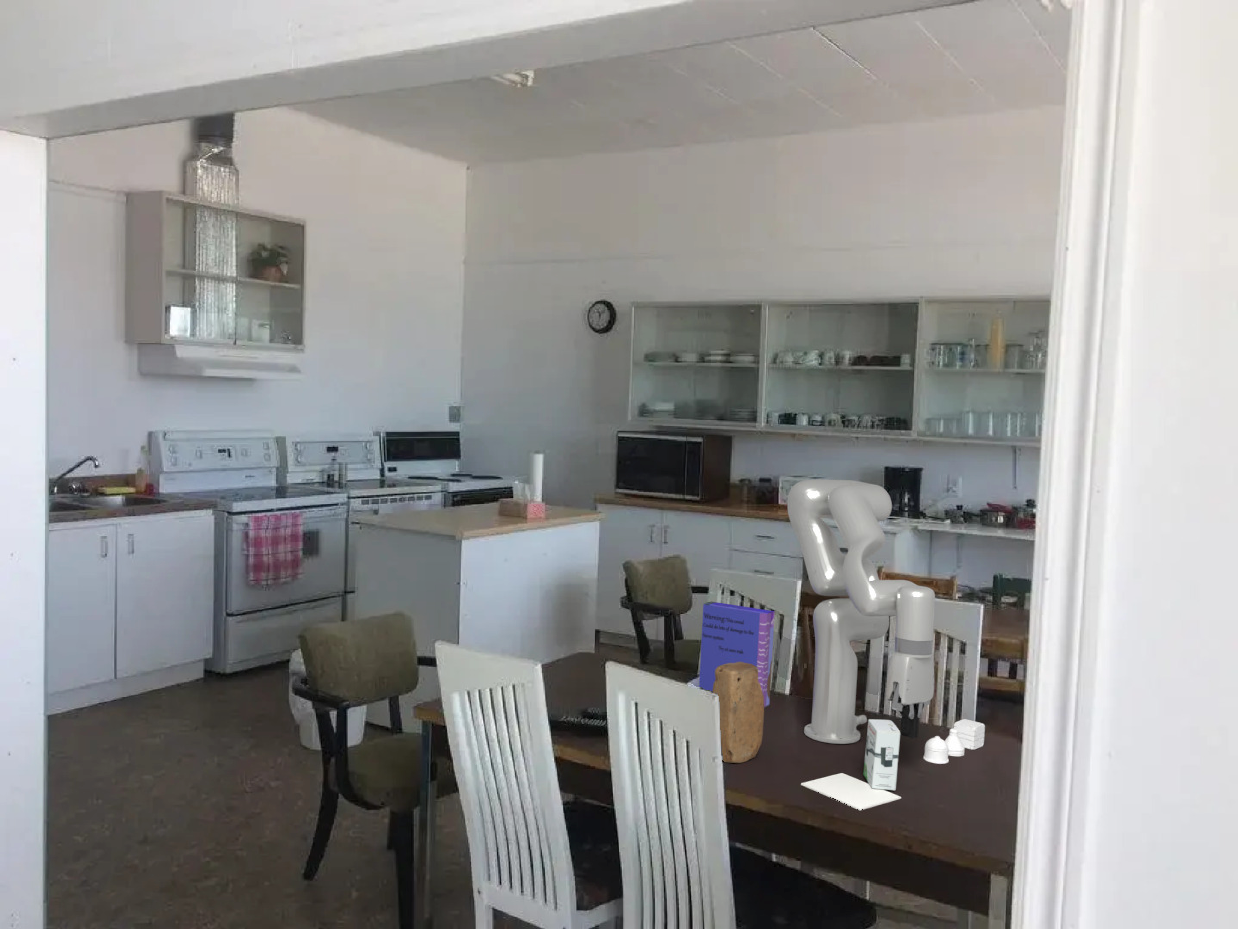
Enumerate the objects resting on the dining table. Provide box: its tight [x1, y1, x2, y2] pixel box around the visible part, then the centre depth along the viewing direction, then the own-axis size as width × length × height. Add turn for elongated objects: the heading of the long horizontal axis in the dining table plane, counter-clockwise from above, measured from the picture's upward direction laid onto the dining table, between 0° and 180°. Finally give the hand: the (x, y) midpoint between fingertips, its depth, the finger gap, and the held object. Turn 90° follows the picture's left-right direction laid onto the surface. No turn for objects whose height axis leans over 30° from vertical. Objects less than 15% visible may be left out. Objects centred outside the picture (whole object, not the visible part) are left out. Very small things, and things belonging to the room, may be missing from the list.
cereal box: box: [698, 601, 775, 709], centre depth 265 cm, size 17×5×24 cm, turn 59°
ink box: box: [862, 718, 901, 791], centre depth 211 cm, size 9×5×12 cm, turn 178°
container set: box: [923, 718, 986, 765], centre depth 233 cm, size 20×5×6 cm, turn 135°
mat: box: [800, 772, 902, 811], centre depth 206 cm, size 12×15×1 cm
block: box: [712, 662, 765, 764], centre depth 222 cm, size 11×8×20 cm
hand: (909, 736), depth 214 cm, fingers closed
